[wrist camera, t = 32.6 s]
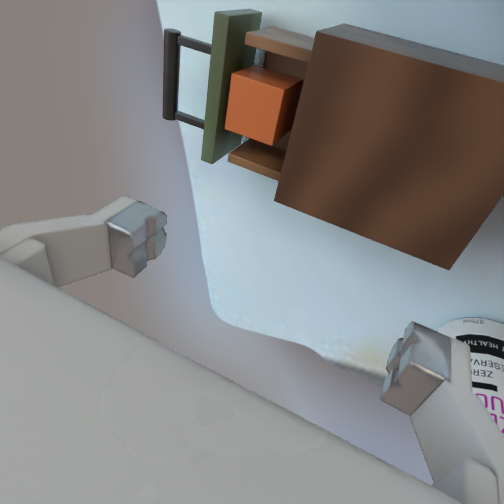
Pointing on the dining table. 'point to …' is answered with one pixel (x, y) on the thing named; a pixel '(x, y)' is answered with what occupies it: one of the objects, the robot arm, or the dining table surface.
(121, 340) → the robot arm
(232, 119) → the block
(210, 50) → the drawer
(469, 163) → the cabinet
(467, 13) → the dining table surface
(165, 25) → the dining table surface
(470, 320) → the supplement can
